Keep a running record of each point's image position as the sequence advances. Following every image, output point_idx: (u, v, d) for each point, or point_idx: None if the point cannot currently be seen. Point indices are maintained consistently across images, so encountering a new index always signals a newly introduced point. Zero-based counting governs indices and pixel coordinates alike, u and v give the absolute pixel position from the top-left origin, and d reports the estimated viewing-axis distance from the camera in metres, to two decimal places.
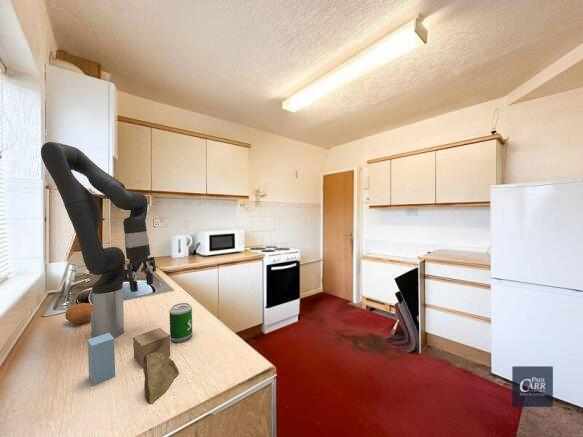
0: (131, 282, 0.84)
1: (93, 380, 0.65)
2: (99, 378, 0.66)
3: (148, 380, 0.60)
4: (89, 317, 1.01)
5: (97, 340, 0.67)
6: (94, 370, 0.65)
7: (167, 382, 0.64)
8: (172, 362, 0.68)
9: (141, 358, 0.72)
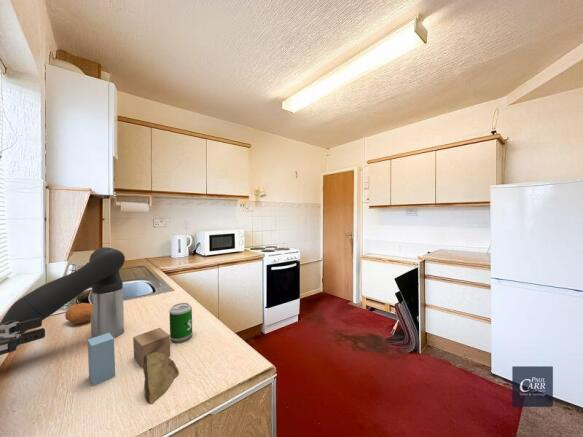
0: (21, 339, 0.53)
1: (93, 380, 0.65)
2: (99, 378, 0.66)
3: (148, 380, 0.60)
4: (89, 317, 1.01)
5: (97, 340, 0.67)
6: (94, 370, 0.65)
7: (167, 382, 0.64)
8: (172, 362, 0.68)
9: (141, 358, 0.72)
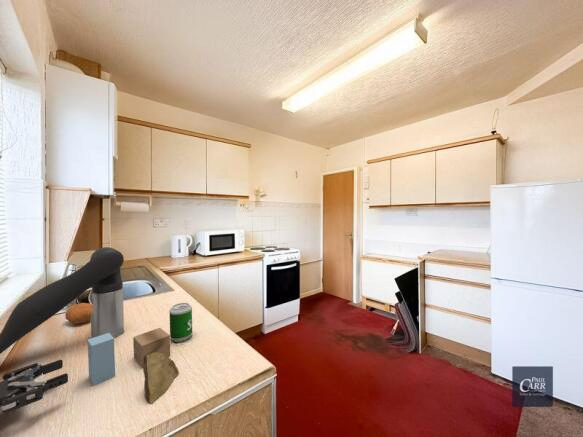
0: (47, 387, 0.56)
1: (93, 380, 0.65)
2: (99, 378, 0.66)
3: (148, 380, 0.60)
4: (89, 317, 1.01)
5: (97, 340, 0.67)
6: (94, 370, 0.65)
7: (167, 382, 0.64)
8: (172, 362, 0.68)
9: (141, 358, 0.72)
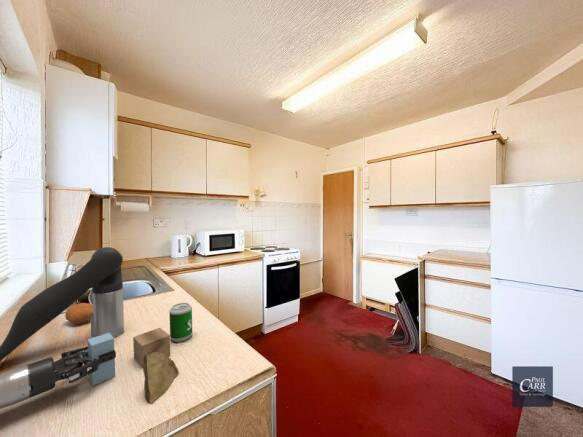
0: (100, 360, 0.65)
1: (93, 380, 0.65)
2: (99, 378, 0.66)
3: (148, 380, 0.60)
4: (89, 317, 1.01)
5: (97, 340, 0.67)
6: None
7: (167, 382, 0.64)
8: (172, 362, 0.68)
9: (141, 358, 0.72)
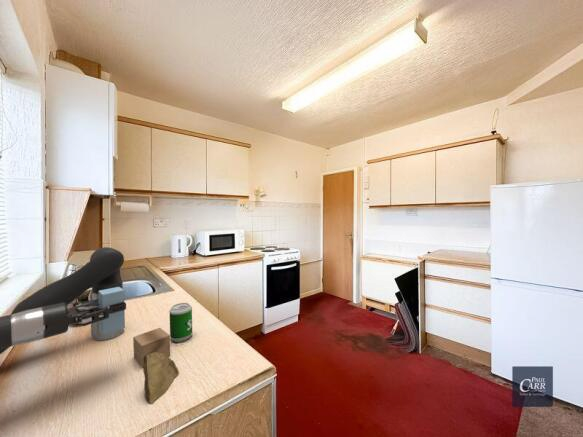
0: (111, 309, 0.66)
1: (104, 329, 0.66)
2: (109, 327, 0.67)
3: (148, 380, 0.60)
4: None
5: (108, 291, 0.68)
6: (104, 319, 0.66)
7: (167, 382, 0.64)
8: (172, 362, 0.68)
9: (141, 358, 0.72)
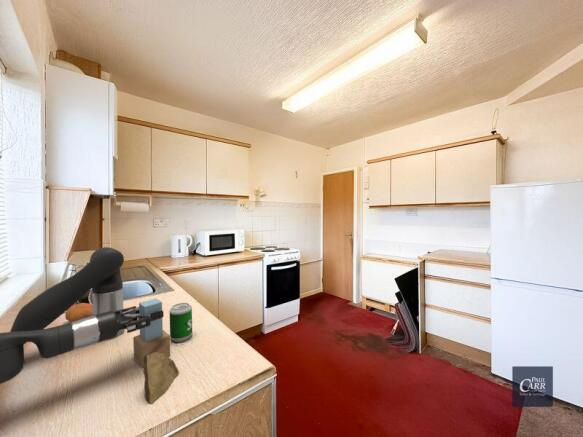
0: (151, 318, 0.73)
1: (146, 337, 0.74)
2: (150, 336, 0.75)
3: (148, 380, 0.60)
4: None
5: (148, 303, 0.76)
6: (146, 328, 0.74)
7: (167, 382, 0.64)
8: (172, 362, 0.68)
9: (141, 358, 0.72)
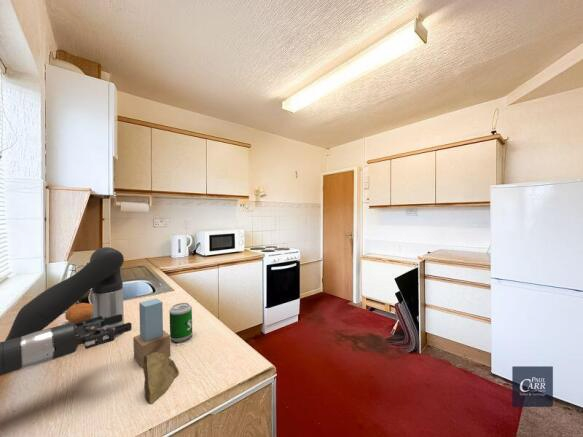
0: (116, 331, 0.65)
1: (146, 337, 0.74)
2: (150, 336, 0.75)
3: (148, 380, 0.60)
4: (89, 317, 1.01)
5: (148, 303, 0.76)
6: (146, 328, 0.74)
7: (167, 382, 0.64)
8: (172, 362, 0.68)
9: (141, 358, 0.72)
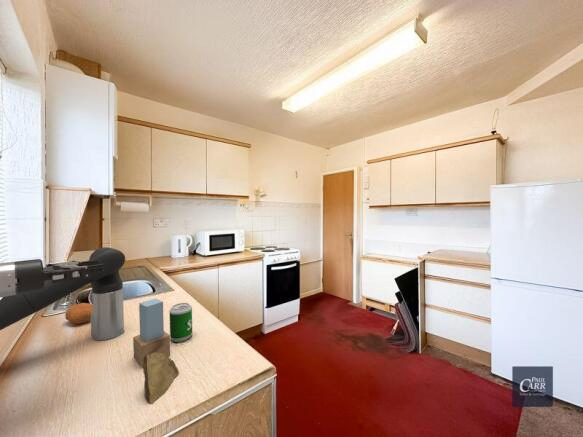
0: (89, 270, 0.61)
1: (147, 337, 0.74)
2: (152, 336, 0.75)
3: (148, 380, 0.60)
4: (89, 317, 1.01)
5: (148, 303, 0.76)
6: (148, 328, 0.74)
7: (167, 382, 0.64)
8: (172, 362, 0.68)
9: (141, 358, 0.72)
